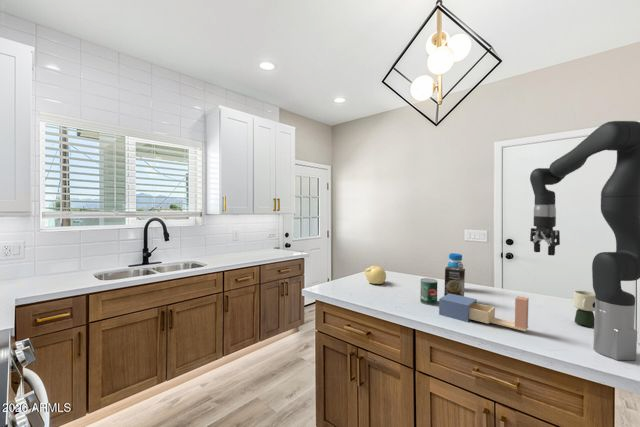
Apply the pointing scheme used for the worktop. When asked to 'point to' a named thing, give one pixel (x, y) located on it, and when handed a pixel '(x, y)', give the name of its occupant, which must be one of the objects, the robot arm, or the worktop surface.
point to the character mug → (584, 307)
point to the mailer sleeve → (456, 306)
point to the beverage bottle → (455, 260)
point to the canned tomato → (428, 291)
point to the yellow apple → (375, 275)
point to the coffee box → (454, 281)
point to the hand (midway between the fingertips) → (543, 253)
